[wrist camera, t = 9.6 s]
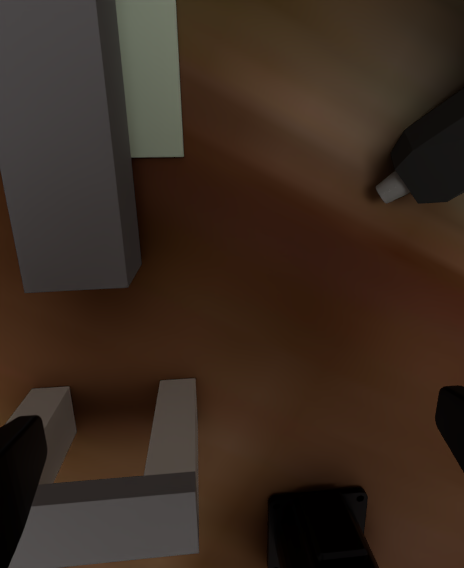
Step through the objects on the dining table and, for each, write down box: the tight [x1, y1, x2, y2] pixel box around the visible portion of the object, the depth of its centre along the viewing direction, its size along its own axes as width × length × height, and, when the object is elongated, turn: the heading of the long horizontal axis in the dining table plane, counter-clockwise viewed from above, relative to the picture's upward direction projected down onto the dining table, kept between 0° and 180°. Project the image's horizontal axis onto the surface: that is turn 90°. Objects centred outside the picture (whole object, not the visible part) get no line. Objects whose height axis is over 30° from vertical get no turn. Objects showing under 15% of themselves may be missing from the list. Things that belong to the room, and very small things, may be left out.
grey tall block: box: [0, 0, 142, 293], centre depth 15 cm, size 15×4×4 cm, turn 2°
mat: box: [115, 0, 184, 158], centre depth 16 cm, size 10×9×1 cm
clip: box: [6, 378, 199, 568], centre depth 18 cm, size 3×9×8 cm, turn 91°
